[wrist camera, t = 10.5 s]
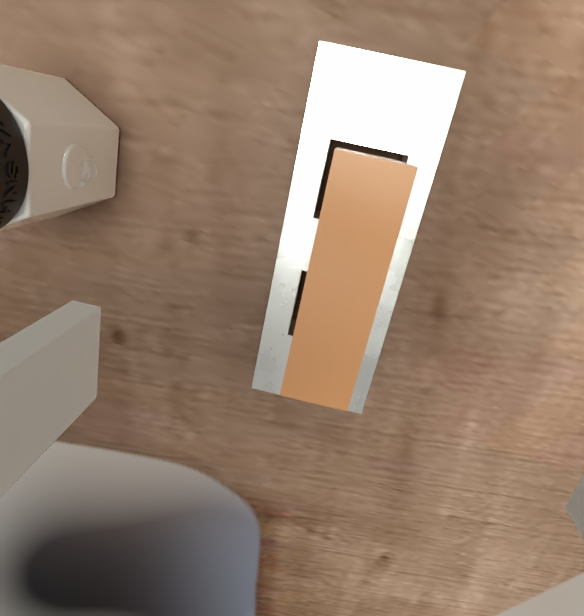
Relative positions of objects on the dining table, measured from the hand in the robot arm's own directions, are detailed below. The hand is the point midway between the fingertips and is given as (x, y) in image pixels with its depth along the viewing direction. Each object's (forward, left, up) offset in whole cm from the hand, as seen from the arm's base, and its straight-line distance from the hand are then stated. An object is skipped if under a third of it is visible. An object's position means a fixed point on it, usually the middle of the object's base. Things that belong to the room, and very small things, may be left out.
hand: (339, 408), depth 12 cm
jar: (-20, +2, -21) cm, 29 cm away
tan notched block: (0, 0, -21) cm, 21 cm away
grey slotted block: (0, 0, -21) cm, 21 cm away
